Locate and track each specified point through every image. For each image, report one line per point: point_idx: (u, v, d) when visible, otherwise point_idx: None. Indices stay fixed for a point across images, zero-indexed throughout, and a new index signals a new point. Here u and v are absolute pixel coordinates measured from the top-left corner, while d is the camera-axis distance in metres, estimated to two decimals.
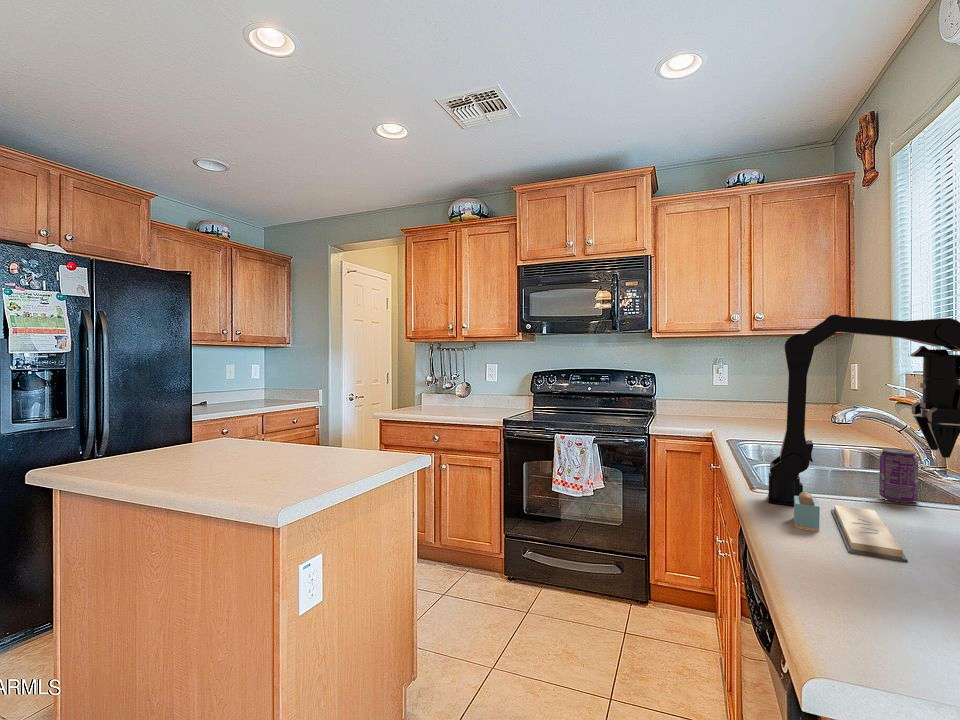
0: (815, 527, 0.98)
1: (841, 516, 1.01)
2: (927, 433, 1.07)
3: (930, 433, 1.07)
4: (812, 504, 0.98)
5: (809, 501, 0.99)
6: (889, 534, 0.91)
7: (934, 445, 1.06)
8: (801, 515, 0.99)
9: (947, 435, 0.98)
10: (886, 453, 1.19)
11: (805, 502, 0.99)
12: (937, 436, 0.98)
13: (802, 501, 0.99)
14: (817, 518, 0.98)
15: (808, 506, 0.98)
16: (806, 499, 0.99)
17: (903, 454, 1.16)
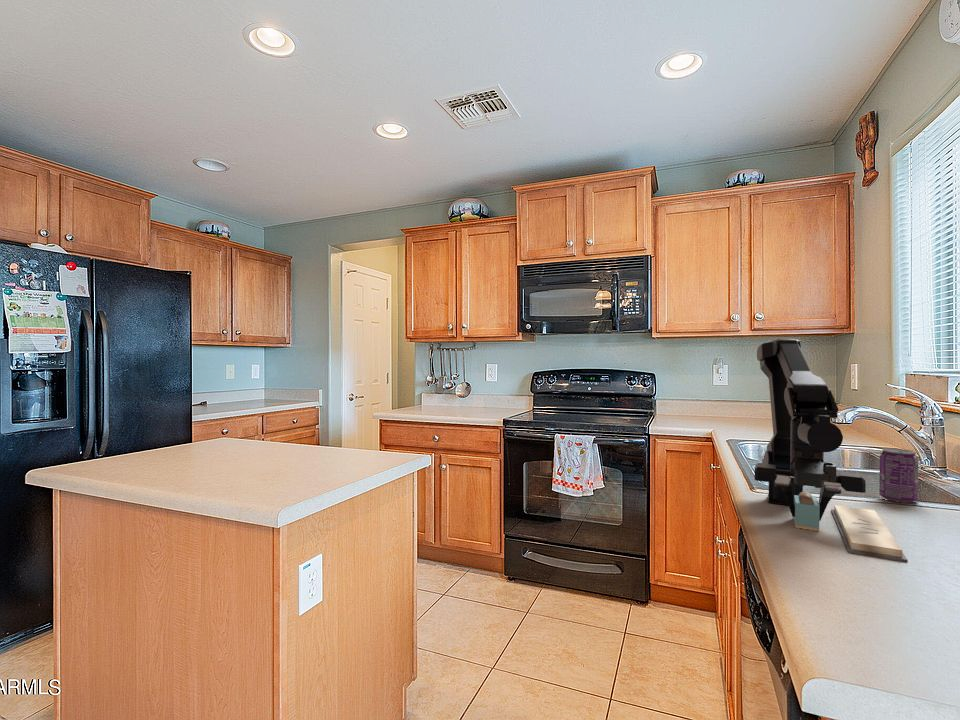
0: (815, 526, 0.98)
1: (841, 516, 1.01)
2: (819, 502, 1.01)
3: (819, 502, 1.01)
4: (812, 503, 0.98)
5: (809, 500, 0.99)
6: (889, 534, 0.91)
7: None
8: (801, 515, 0.99)
9: None
10: (886, 453, 1.19)
11: (805, 501, 0.99)
12: None
13: (802, 500, 0.99)
14: (817, 517, 0.98)
15: (808, 505, 0.98)
16: (806, 498, 0.99)
17: (903, 454, 1.16)
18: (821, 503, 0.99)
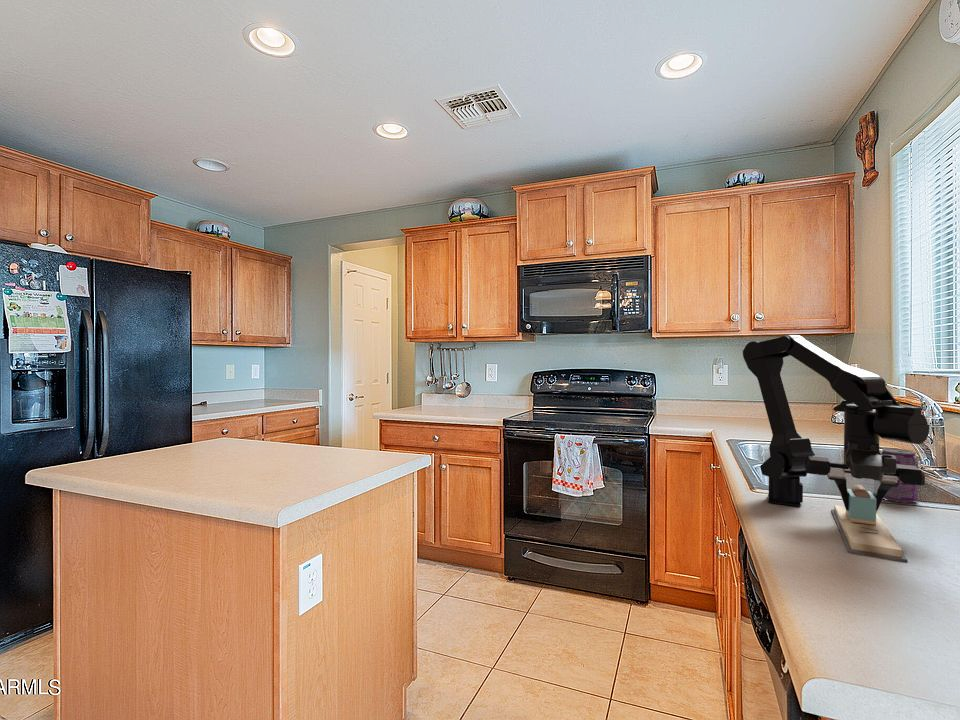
0: (871, 520, 0.96)
1: (841, 516, 1.01)
2: (873, 495, 1.00)
3: (874, 495, 0.99)
4: (868, 497, 0.97)
5: (865, 494, 0.97)
6: (889, 534, 0.91)
7: None
8: (856, 508, 0.98)
9: None
10: (886, 453, 1.19)
11: (861, 495, 0.98)
12: (837, 486, 1.03)
13: (857, 494, 0.98)
14: (874, 511, 0.96)
15: (864, 499, 0.97)
16: (862, 492, 0.98)
17: (903, 454, 1.16)
18: (877, 496, 0.98)
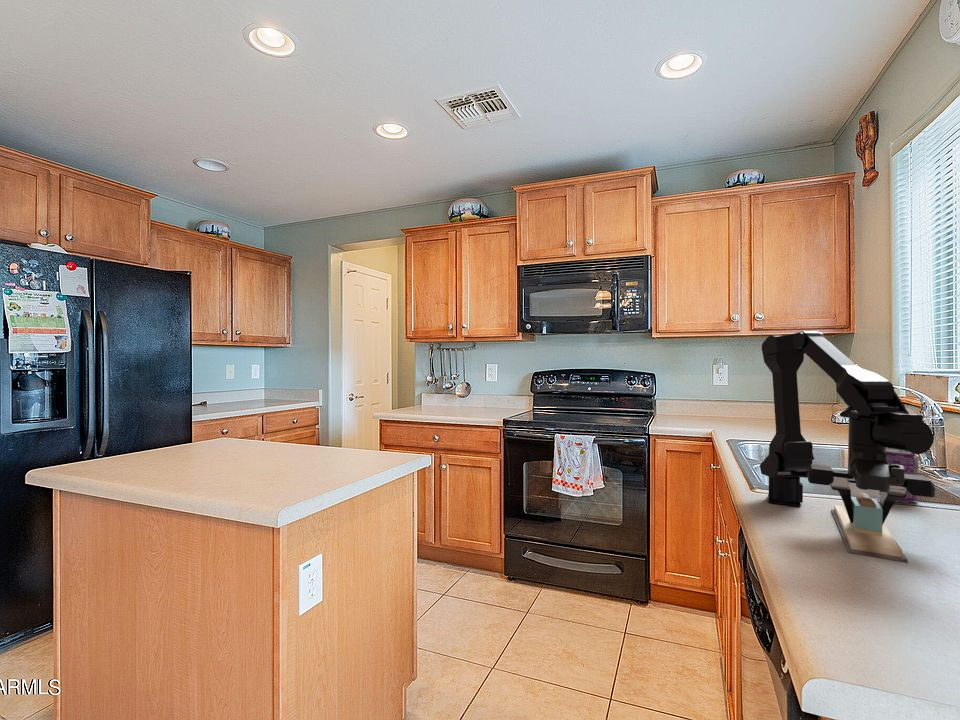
0: (877, 531, 0.91)
1: (841, 516, 1.01)
2: None
3: None
4: (874, 506, 0.91)
5: (870, 503, 0.92)
6: (889, 534, 0.91)
7: None
8: (861, 518, 0.92)
9: None
10: (886, 453, 1.19)
11: (866, 504, 0.92)
12: None
13: (862, 503, 0.92)
14: (880, 521, 0.91)
15: (869, 508, 0.91)
16: (867, 501, 0.92)
17: (903, 454, 1.16)
18: (883, 508, 0.92)
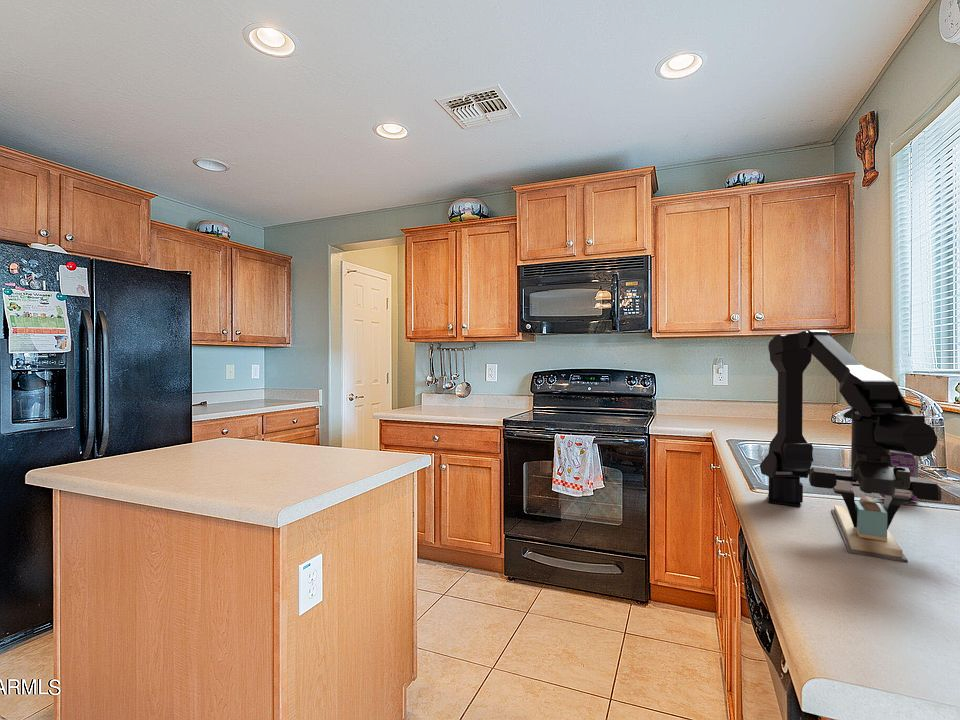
0: (882, 536, 0.88)
1: (841, 516, 1.01)
2: None
3: None
4: (878, 510, 0.88)
5: (875, 507, 0.89)
6: (889, 534, 0.91)
7: None
8: (865, 523, 0.89)
9: None
10: None
11: (870, 508, 0.89)
12: None
13: (866, 507, 0.89)
14: (884, 526, 0.88)
15: (874, 512, 0.88)
16: (871, 504, 0.89)
17: (903, 454, 1.16)
18: (888, 512, 0.89)
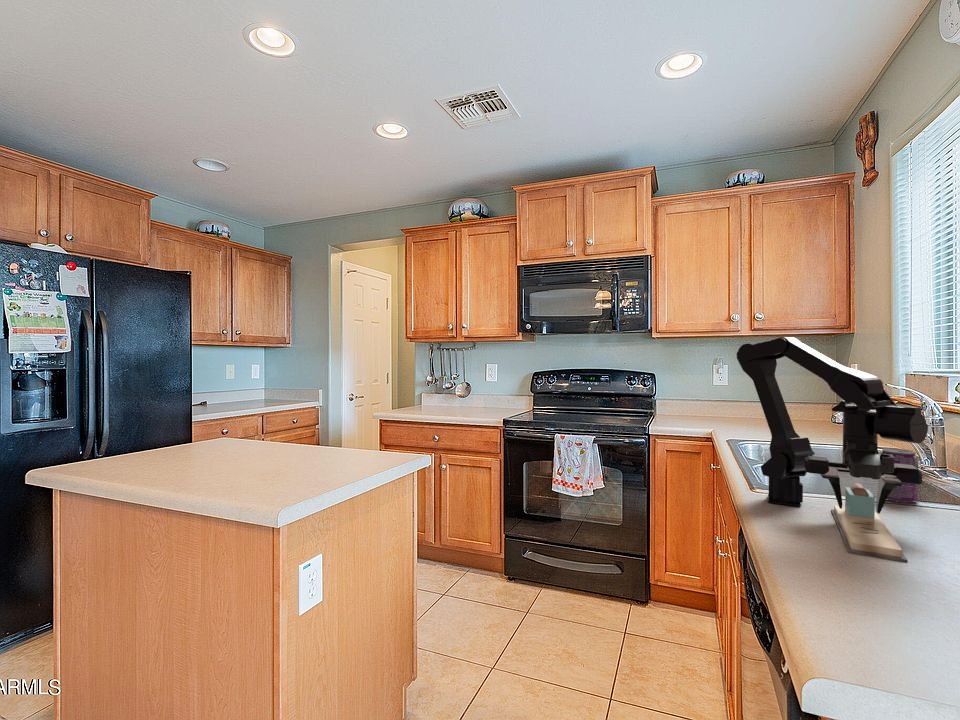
0: (870, 518, 0.98)
1: (841, 516, 1.01)
2: (877, 494, 1.01)
3: (878, 495, 1.01)
4: (867, 495, 0.99)
5: (863, 492, 0.99)
6: (889, 534, 0.91)
7: (877, 507, 1.00)
8: (855, 506, 0.99)
9: None
10: (886, 453, 1.19)
11: (859, 493, 0.99)
12: None
13: (856, 492, 1.00)
14: (872, 509, 0.98)
15: (863, 497, 0.99)
16: (860, 490, 0.99)
17: (903, 454, 1.16)
18: (881, 495, 0.99)
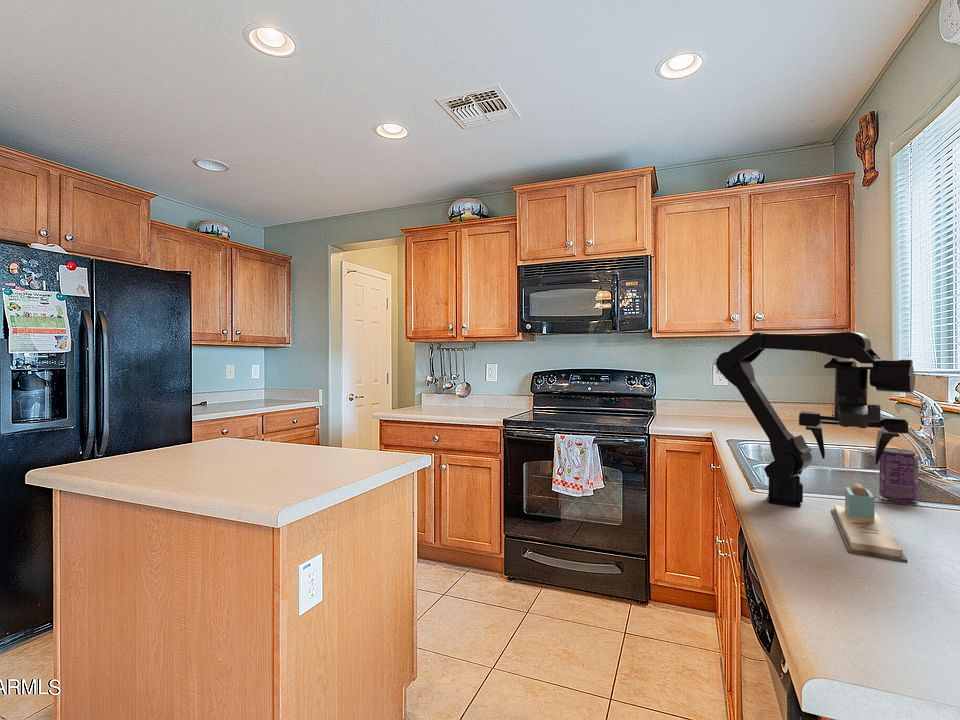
0: (870, 518, 0.98)
1: (841, 516, 1.01)
2: (876, 446, 1.05)
3: (876, 446, 1.05)
4: (867, 495, 0.99)
5: (863, 492, 0.99)
6: (889, 534, 0.91)
7: (874, 458, 1.05)
8: (855, 506, 0.99)
9: None
10: (886, 453, 1.19)
11: (859, 493, 0.99)
12: None
13: (856, 492, 1.00)
14: (872, 509, 0.98)
15: (863, 497, 0.99)
16: (860, 490, 0.99)
17: (903, 454, 1.16)
18: (879, 447, 1.03)
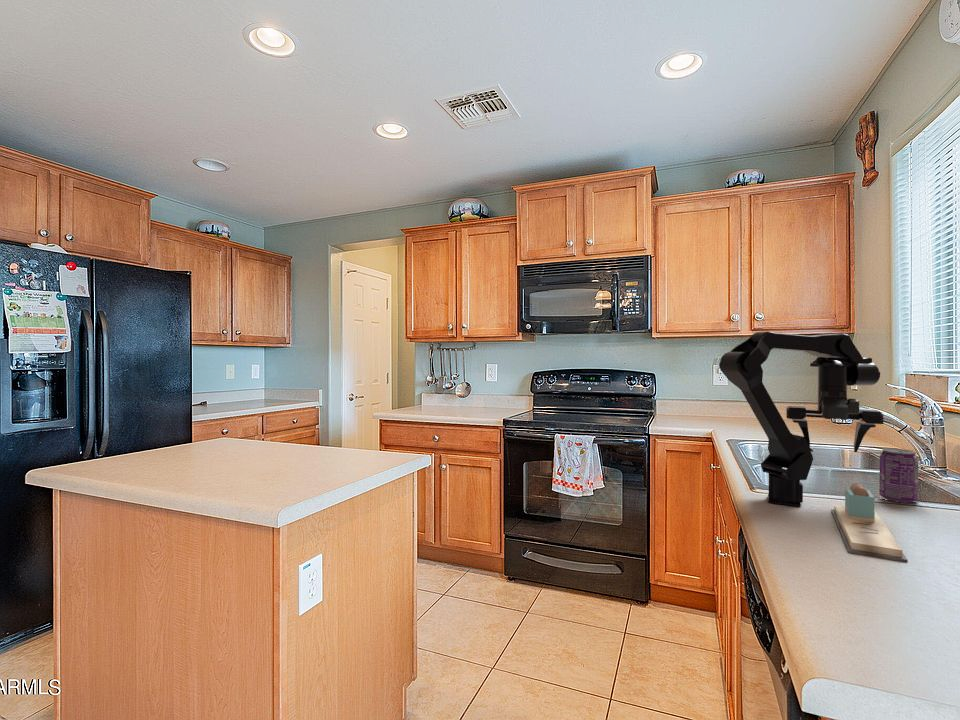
0: (870, 518, 0.98)
1: (841, 516, 1.01)
2: (855, 436, 1.17)
3: (855, 436, 1.17)
4: (867, 495, 0.99)
5: (863, 492, 0.99)
6: (889, 534, 0.91)
7: (854, 447, 1.16)
8: (855, 506, 0.99)
9: None
10: (886, 453, 1.19)
11: (859, 493, 0.99)
12: None
13: (856, 492, 1.00)
14: (872, 509, 0.98)
15: (863, 497, 0.99)
16: (860, 490, 0.99)
17: (903, 454, 1.16)
18: (857, 436, 1.15)
